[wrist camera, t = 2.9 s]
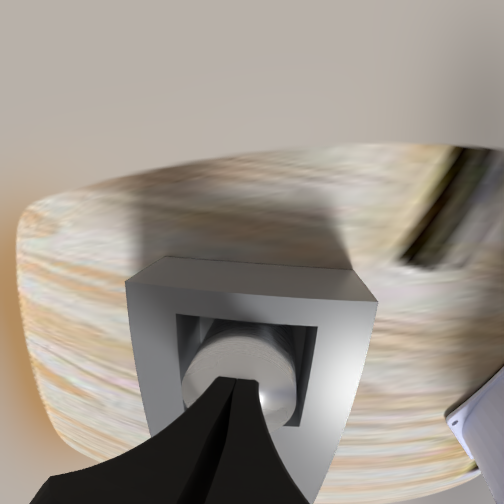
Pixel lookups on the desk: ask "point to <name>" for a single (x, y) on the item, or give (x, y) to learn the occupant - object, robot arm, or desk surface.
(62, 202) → the desk surface
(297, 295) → the block
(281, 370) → the aluminium plunger
